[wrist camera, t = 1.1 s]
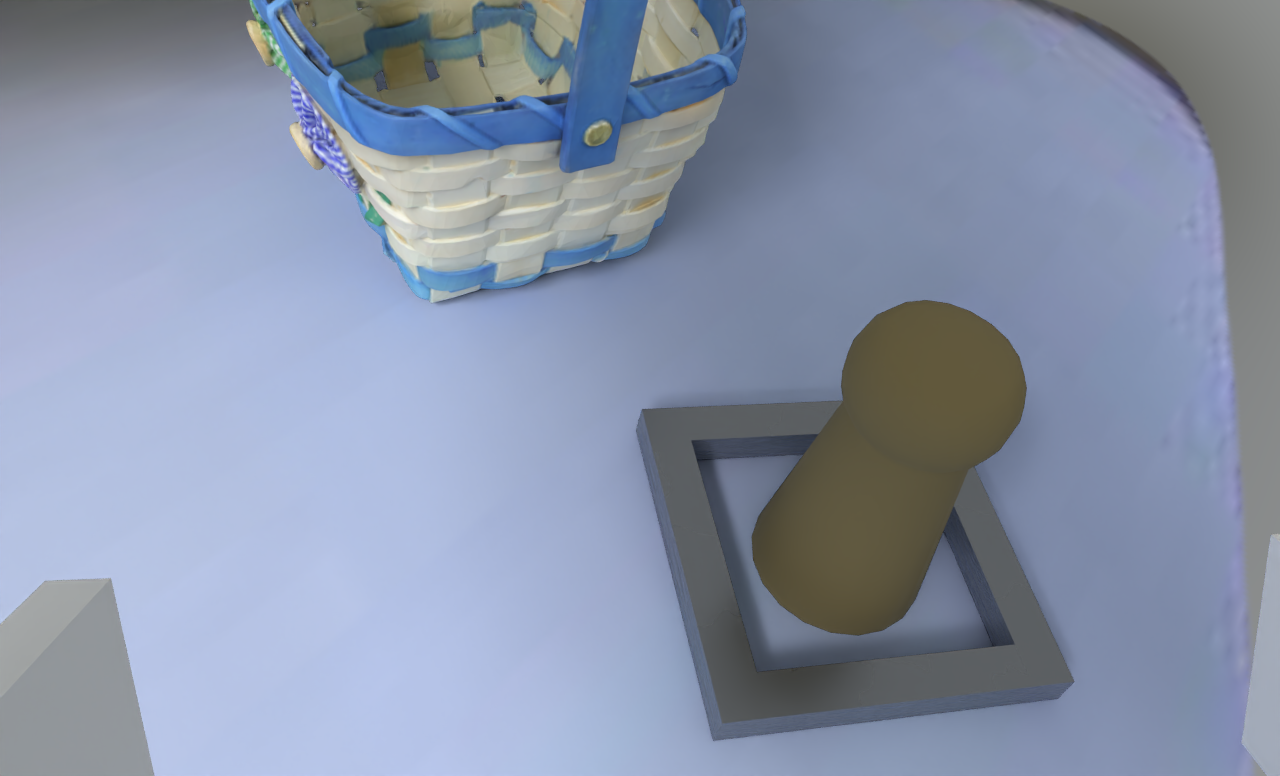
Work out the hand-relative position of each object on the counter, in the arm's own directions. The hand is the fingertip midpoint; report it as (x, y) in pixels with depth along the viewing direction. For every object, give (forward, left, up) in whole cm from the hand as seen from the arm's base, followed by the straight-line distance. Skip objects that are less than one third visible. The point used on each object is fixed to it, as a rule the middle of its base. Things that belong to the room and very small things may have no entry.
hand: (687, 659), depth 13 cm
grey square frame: (-13, +13, -21) cm, 28 cm away
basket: (-32, +2, -21) cm, 39 cm away
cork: (-13, +13, -21) cm, 28 cm away
